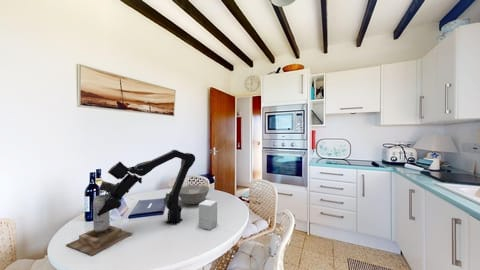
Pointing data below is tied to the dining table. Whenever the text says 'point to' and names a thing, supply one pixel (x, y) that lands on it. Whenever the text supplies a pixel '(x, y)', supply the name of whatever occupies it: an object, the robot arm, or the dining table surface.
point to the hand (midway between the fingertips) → (97, 213)
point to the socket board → (94, 251)
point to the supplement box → (207, 214)
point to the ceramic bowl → (193, 194)
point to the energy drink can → (102, 220)
